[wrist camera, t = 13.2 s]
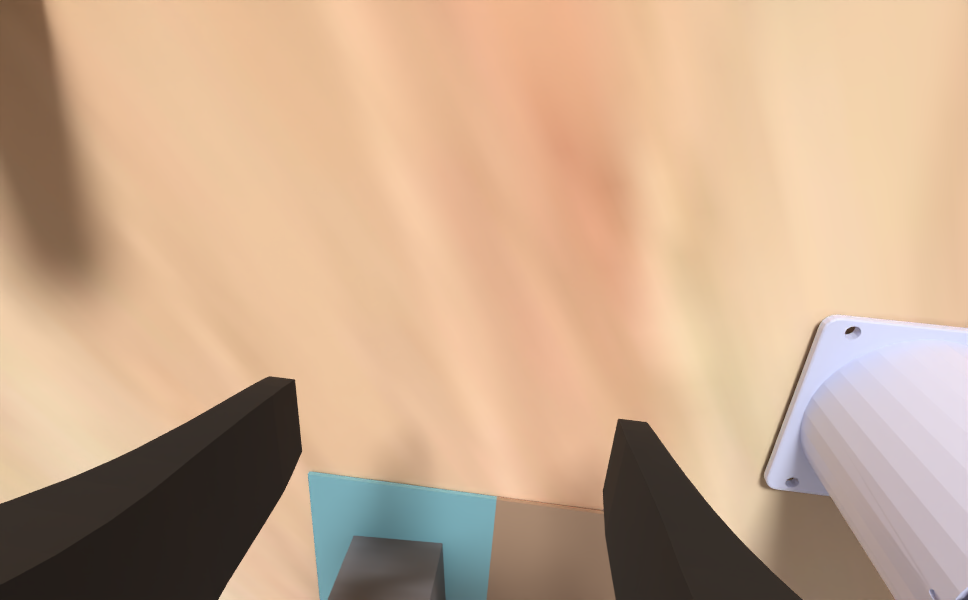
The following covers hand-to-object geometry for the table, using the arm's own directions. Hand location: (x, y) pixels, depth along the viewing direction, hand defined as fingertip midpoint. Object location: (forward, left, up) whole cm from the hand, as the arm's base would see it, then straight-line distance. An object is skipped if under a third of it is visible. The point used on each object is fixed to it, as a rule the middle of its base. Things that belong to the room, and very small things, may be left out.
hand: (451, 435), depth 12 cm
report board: (-1, +17, -9) cm, 19 cm away
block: (+4, +17, -9) cm, 19 cm away
